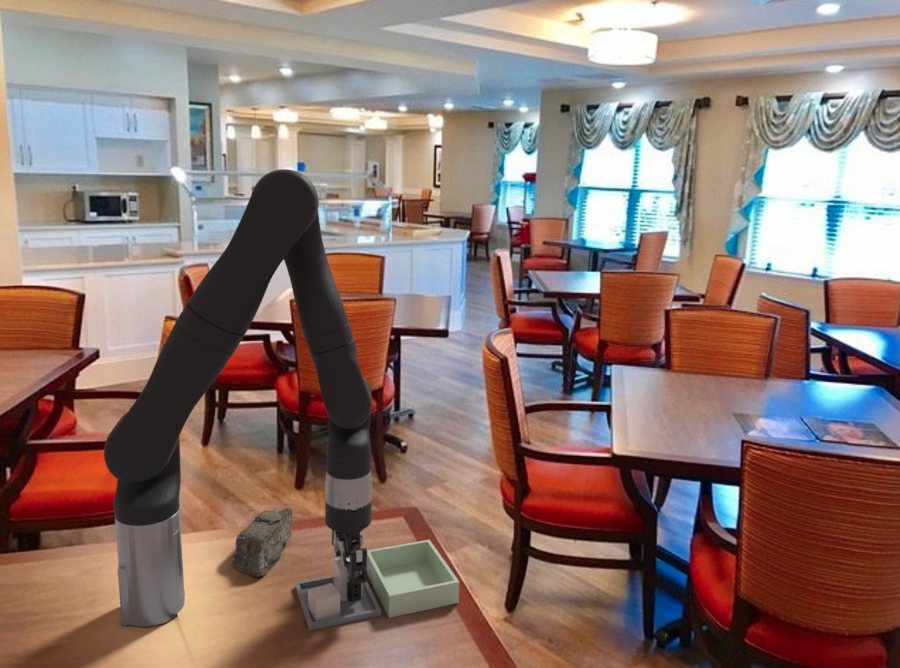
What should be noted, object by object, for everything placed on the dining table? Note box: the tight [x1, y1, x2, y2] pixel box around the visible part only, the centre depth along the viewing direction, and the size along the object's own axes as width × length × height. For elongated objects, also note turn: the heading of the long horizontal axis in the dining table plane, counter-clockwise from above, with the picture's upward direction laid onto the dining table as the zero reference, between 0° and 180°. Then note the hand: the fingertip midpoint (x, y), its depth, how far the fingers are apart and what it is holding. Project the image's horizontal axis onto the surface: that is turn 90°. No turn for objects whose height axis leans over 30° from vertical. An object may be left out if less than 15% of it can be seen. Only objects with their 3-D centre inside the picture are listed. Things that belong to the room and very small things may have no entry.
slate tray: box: [294, 574, 382, 632], centre depth 116 cm, size 12×12×2 cm
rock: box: [231, 506, 293, 578], centre depth 129 cm, size 17×7×10 cm
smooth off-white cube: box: [308, 583, 340, 622], centre depth 112 cm, size 4×4×4 cm
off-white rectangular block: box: [333, 555, 363, 602], centre depth 118 cm, size 4×4×6 cm
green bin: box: [366, 539, 460, 619], centre depth 121 cm, size 12×14×4 cm
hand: (348, 586), depth 118 cm, fingers open, 7 cm apart
